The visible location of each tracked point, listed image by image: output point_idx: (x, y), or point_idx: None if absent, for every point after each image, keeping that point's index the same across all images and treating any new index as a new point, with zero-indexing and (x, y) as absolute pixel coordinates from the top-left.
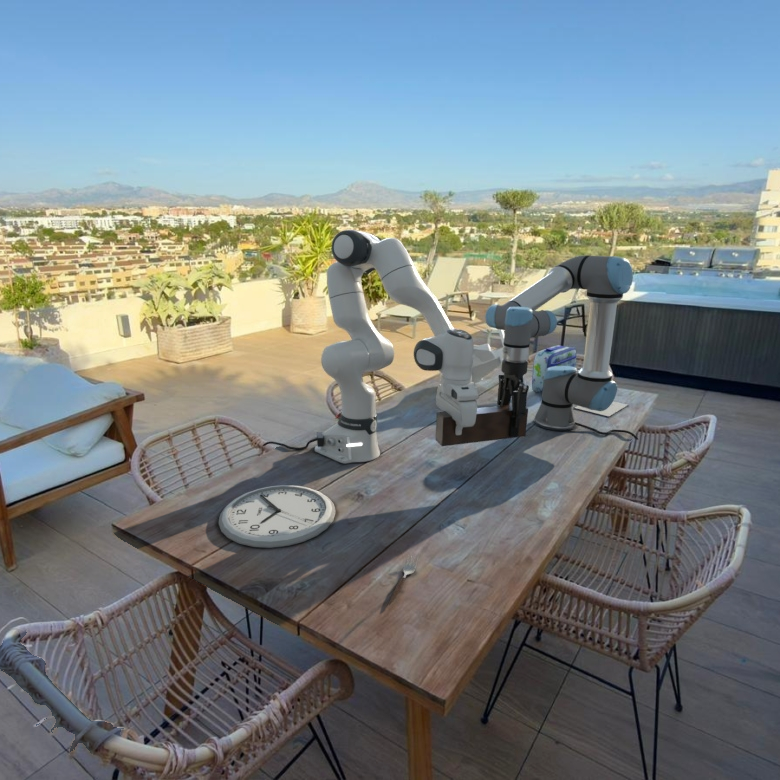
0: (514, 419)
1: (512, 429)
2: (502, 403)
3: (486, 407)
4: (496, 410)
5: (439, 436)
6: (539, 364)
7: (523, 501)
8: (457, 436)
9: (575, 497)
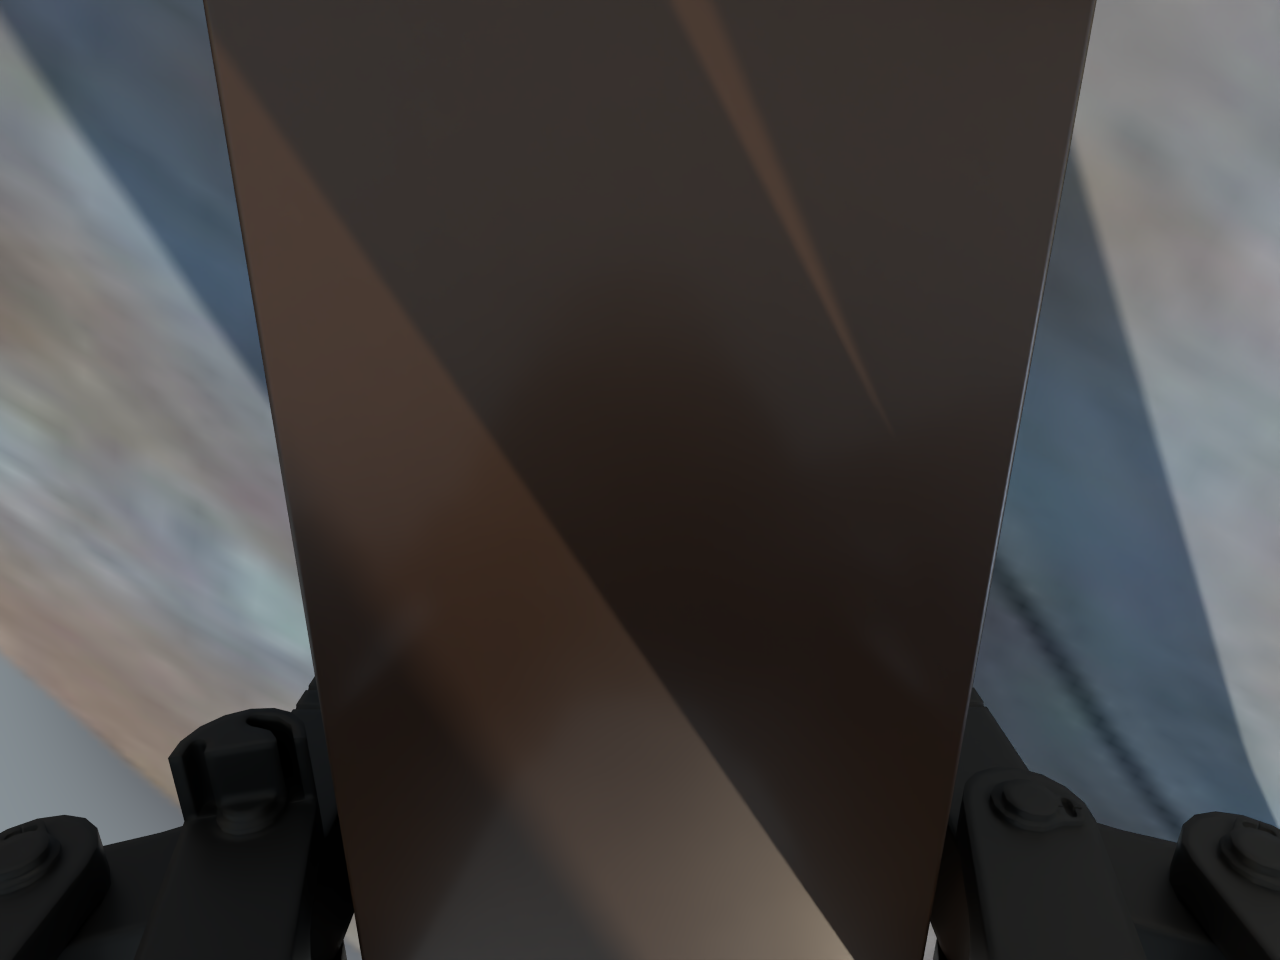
0: (327, 754)
1: None
2: (1015, 949)
3: (1008, 145)
4: (456, 402)
5: None
6: None
7: (31, 237)
8: None
9: (84, 661)
